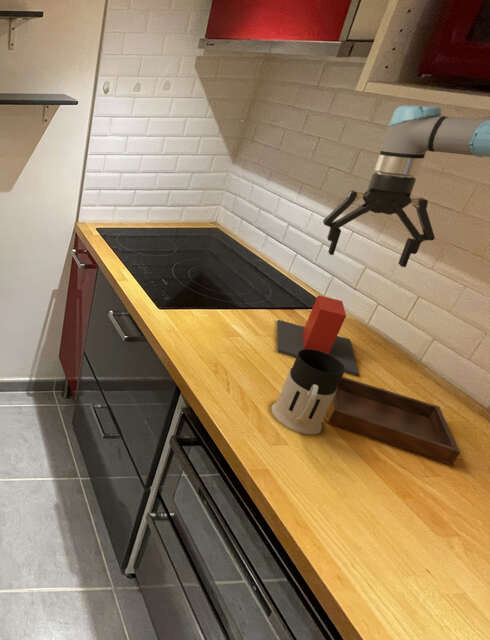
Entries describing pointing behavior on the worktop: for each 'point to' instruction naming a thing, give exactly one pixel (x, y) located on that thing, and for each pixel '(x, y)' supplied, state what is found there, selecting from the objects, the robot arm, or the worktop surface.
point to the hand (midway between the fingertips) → (365, 259)
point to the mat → (293, 343)
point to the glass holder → (308, 391)
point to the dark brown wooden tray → (393, 420)
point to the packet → (323, 324)
